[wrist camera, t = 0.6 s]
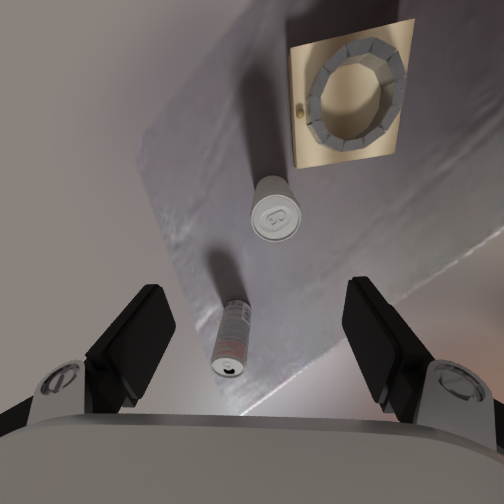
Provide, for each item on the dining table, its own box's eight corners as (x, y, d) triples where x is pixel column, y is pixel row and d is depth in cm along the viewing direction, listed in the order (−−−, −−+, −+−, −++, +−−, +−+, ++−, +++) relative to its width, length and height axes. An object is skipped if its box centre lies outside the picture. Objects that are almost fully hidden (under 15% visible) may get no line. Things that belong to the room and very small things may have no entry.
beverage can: (249, 184, 29) (239, 207, 18) (280, 167, 27) (290, 182, 17) (264, 213, 30) (263, 250, 20) (294, 199, 29) (310, 230, 19)
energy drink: (227, 319, 41) (213, 379, 31) (222, 299, 39) (205, 357, 28) (252, 318, 41) (248, 379, 30) (249, 298, 38) (243, 356, 28)
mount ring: (397, 40, 19) (414, 26, 17) (384, 143, 23) (397, 143, 20) (304, 61, 20) (309, 51, 18) (307, 156, 24) (311, 157, 22)
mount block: (395, 34, 21) (419, 14, 18) (381, 152, 26) (397, 153, 23) (287, 59, 22) (291, 45, 19) (293, 166, 27) (297, 169, 24)
